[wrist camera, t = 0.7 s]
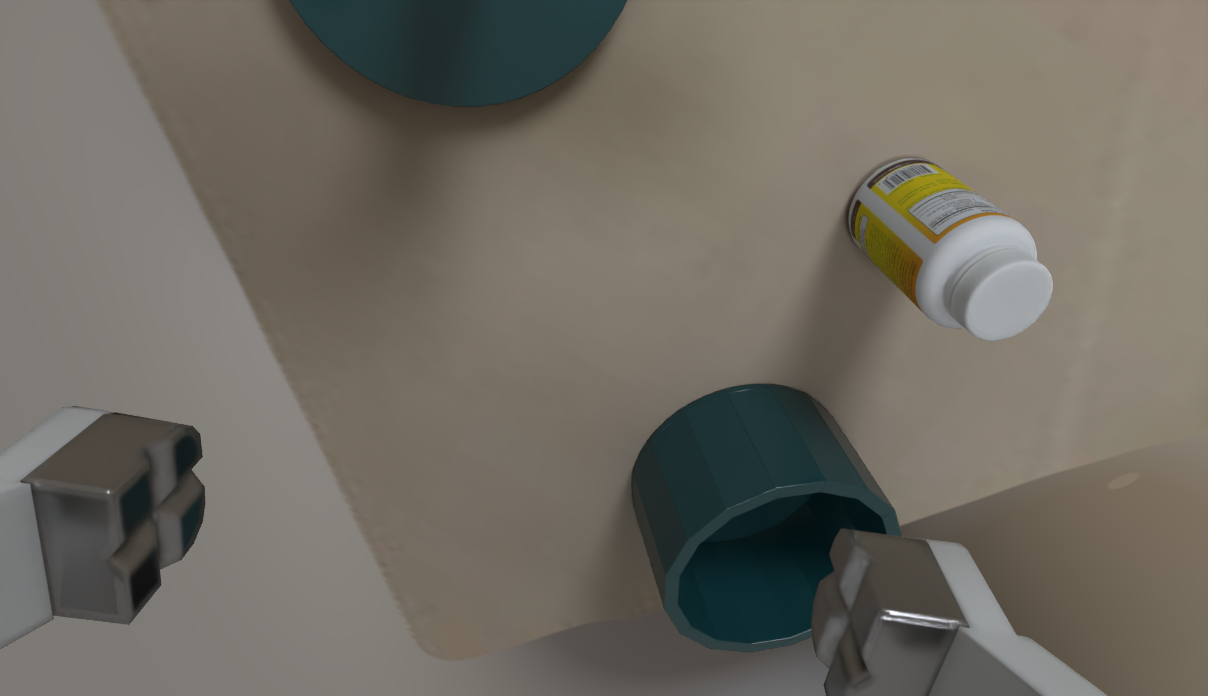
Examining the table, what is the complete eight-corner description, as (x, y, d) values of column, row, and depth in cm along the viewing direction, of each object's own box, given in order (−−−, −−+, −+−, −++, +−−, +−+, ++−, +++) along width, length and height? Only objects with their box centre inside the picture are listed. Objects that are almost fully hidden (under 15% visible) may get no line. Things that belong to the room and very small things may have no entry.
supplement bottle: (894, 267, 45) (1002, 375, 36) (823, 224, 42) (921, 329, 34) (965, 183, 42) (1097, 278, 34) (894, 133, 40) (1018, 222, 32)
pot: (723, 569, 57) (765, 676, 50) (587, 489, 50) (613, 600, 43) (876, 450, 53) (944, 548, 46) (750, 345, 46) (808, 442, 39)
